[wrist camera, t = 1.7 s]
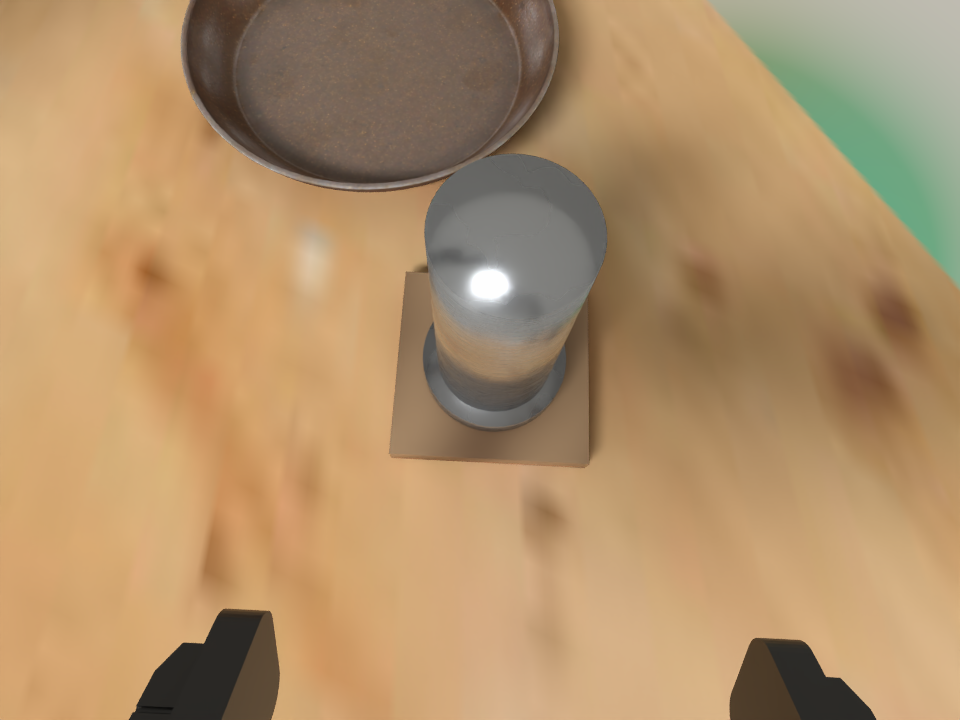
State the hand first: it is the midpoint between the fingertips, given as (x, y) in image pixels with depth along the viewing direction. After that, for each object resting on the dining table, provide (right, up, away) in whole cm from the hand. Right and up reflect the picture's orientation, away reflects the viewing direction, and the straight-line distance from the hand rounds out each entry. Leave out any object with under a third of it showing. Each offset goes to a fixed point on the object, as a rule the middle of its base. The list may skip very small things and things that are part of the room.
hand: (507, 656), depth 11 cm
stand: (0, +5, +17) cm, 17 cm away
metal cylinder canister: (0, +5, +16) cm, 16 cm away
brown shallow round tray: (-6, +20, +22) cm, 30 cm away
